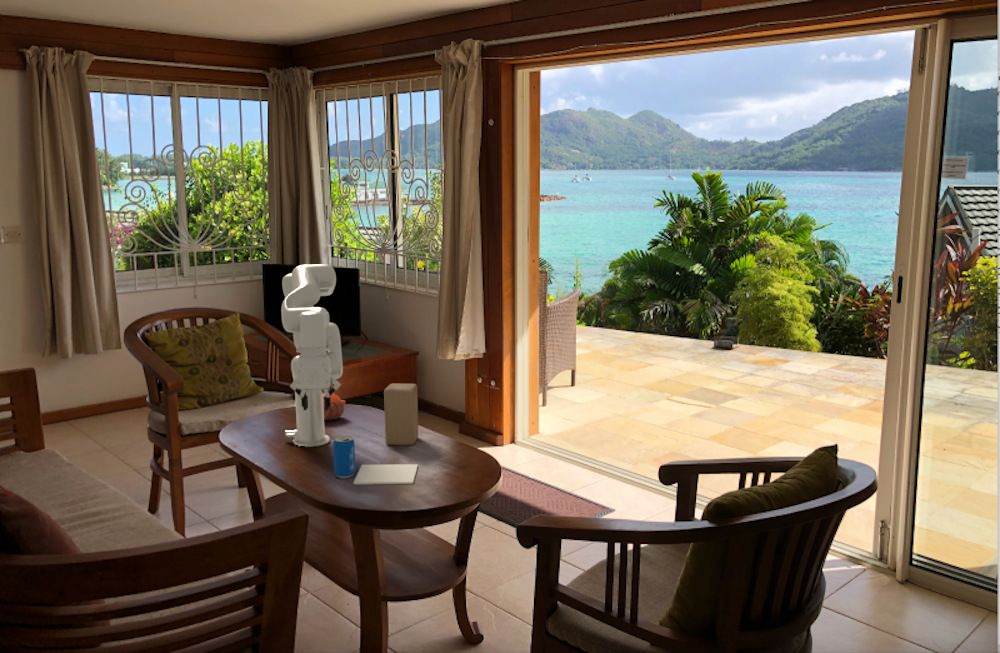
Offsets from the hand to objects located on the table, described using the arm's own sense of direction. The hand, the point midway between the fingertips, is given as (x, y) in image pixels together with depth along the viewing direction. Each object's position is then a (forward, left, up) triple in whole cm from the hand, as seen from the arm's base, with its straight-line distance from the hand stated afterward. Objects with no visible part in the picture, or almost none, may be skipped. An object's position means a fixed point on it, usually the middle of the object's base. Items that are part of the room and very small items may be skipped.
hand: (316, 408), depth 257 cm
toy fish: (-9, +62, -22) cm, 66 cm away
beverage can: (+8, 0, -22) cm, 23 cm away
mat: (+21, 0, -22) cm, 30 cm away
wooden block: (+22, +34, -22) cm, 46 cm away
